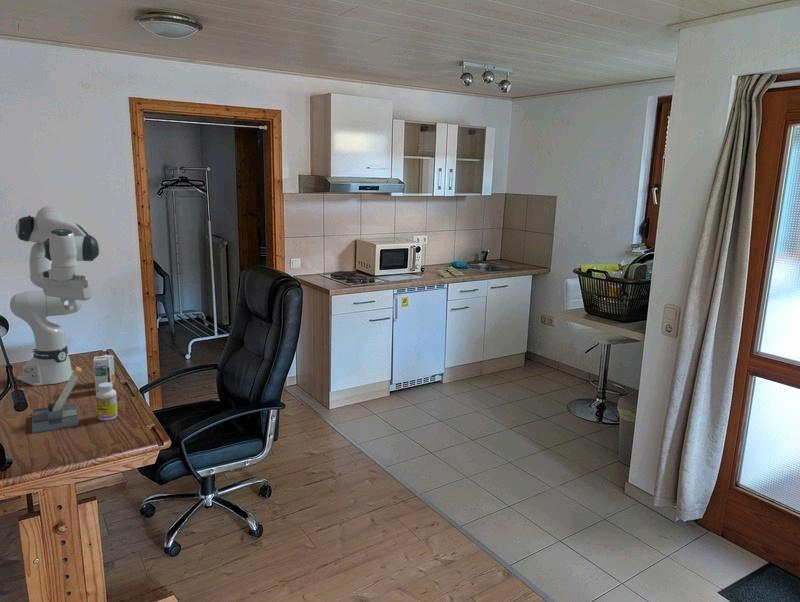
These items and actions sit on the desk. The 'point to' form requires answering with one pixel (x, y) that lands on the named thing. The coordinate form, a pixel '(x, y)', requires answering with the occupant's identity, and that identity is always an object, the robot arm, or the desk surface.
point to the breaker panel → (54, 418)
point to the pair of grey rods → (47, 407)
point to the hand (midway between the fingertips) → (68, 309)
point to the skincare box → (112, 367)
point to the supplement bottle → (106, 402)
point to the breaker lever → (67, 389)
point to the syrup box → (101, 370)
